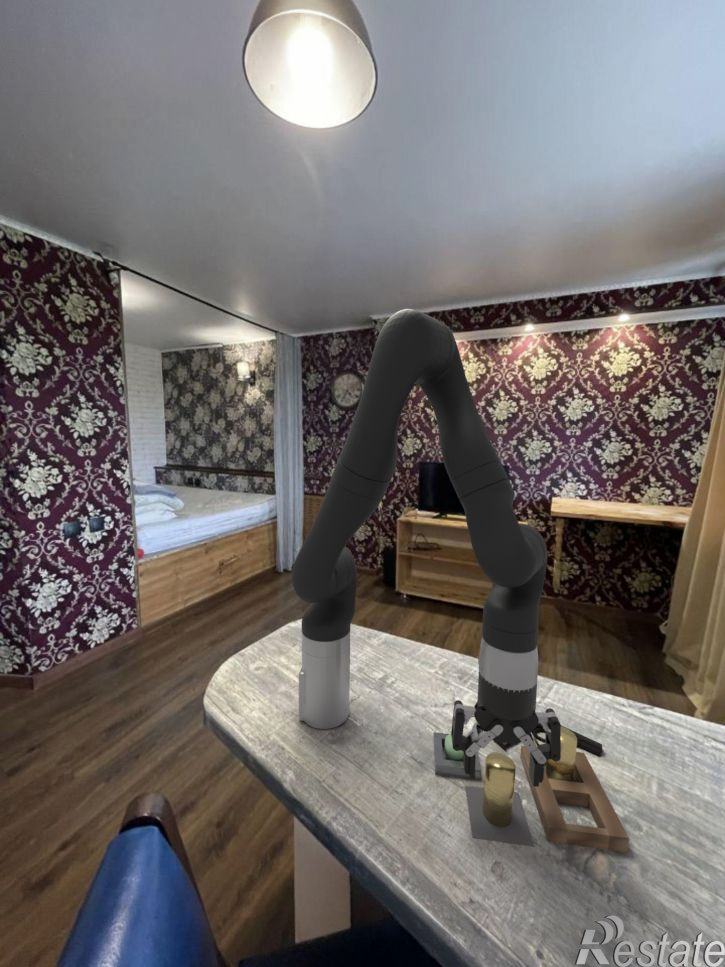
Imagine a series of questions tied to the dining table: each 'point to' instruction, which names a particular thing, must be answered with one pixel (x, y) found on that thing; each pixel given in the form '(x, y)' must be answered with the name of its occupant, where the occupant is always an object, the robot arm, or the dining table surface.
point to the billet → (498, 789)
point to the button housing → (449, 760)
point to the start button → (452, 750)
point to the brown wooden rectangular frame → (580, 794)
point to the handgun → (582, 742)
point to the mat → (487, 831)
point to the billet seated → (564, 758)
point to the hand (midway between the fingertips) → (502, 777)
